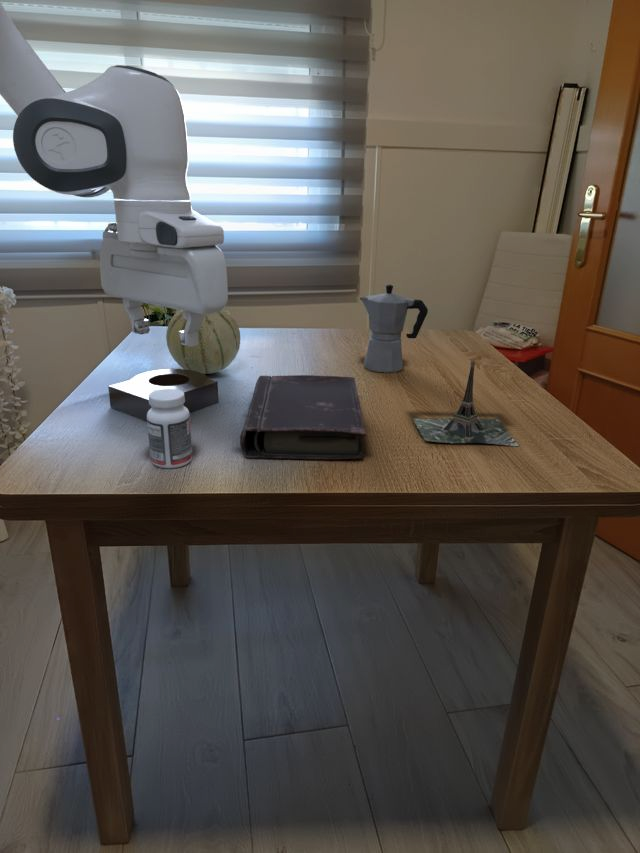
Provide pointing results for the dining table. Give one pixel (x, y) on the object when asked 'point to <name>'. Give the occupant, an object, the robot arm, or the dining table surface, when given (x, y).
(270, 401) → the diary
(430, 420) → the eiffel tower figurine
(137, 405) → the dark holder block
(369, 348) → the coffeepot
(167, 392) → the pill bottle
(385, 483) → the dining table surface
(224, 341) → the cantaloupe
